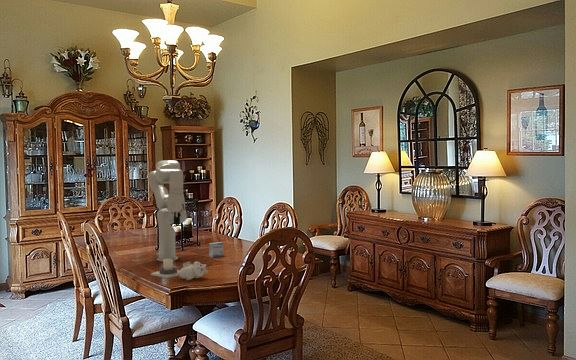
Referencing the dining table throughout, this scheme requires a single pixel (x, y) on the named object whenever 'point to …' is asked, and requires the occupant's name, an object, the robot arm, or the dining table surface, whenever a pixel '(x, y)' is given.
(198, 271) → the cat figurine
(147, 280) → the dining table surface
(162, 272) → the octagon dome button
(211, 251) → the medicine box
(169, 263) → the cream cap
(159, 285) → the dining table surface
